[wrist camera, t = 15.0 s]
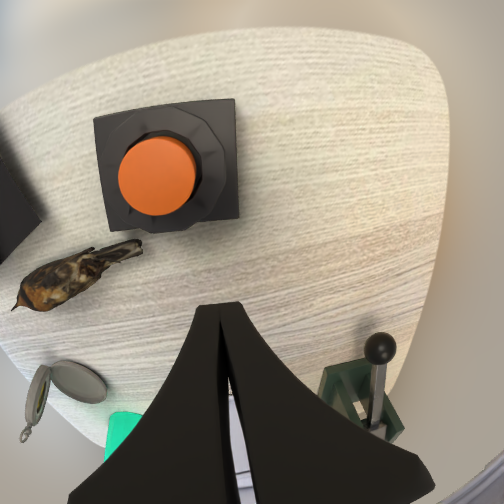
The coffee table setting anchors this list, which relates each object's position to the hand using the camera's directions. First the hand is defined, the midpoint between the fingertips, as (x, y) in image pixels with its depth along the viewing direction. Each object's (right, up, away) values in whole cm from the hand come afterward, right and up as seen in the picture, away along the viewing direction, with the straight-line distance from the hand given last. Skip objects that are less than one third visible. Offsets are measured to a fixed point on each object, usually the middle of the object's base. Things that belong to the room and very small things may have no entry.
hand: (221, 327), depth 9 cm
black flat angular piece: (-20, +6, +2) cm, 21 cm away
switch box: (-4, +8, +7) cm, 11 cm away
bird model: (-12, +1, +9) cm, 15 cm away
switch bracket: (+12, -13, +20) cm, 26 cm away
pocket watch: (-18, -10, +14) cm, 25 cm away
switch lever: (+12, -11, +15) cm, 22 cm away
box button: (-4, +6, +4) cm, 9 cm away
